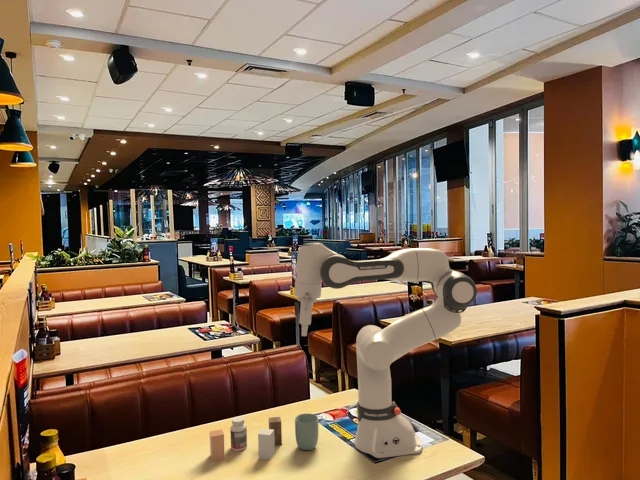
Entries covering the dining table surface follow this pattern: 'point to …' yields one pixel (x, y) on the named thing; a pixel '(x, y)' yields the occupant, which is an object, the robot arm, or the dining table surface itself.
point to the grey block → (266, 444)
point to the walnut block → (276, 429)
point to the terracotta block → (217, 445)
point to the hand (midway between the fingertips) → (304, 332)
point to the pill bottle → (238, 434)
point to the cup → (306, 431)
